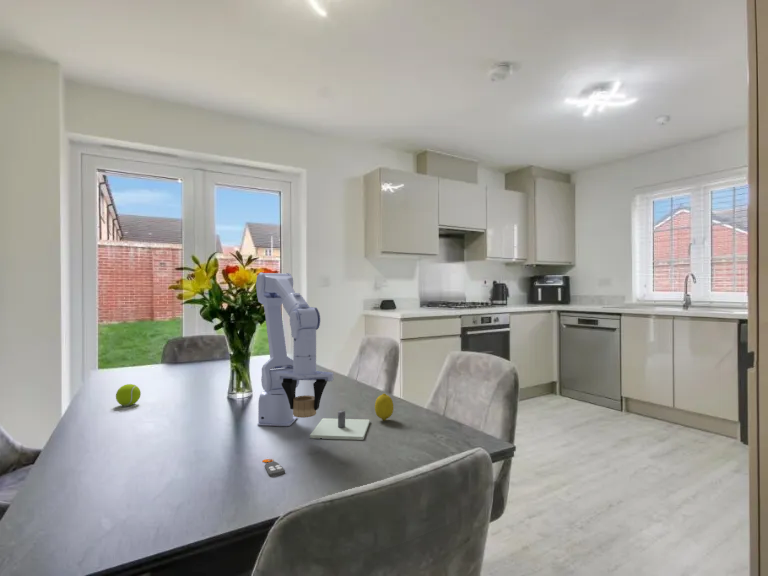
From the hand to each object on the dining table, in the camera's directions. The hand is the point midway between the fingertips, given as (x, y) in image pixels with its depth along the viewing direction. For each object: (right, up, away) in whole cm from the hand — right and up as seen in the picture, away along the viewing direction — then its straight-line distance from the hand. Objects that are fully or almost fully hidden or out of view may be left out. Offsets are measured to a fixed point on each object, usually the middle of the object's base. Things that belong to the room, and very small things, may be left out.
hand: (304, 408), depth 106 cm
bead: (0, -1, 0) cm, 1 cm away
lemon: (+20, -9, +17) cm, 28 cm away
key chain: (-5, -9, -14) cm, 17 cm away
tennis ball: (-65, -9, +32) cm, 73 cm away
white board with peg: (+9, -8, +9) cm, 15 cm away
